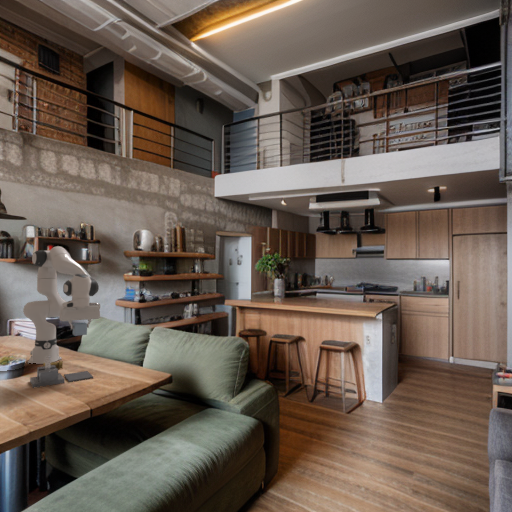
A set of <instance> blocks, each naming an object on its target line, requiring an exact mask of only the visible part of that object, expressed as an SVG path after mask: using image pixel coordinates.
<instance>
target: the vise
mask: <svg viewBox="0 0 512 512" xmlns="http://www.w3.org/2000/svg"><path fill="white" fill-rule="evenodd" d="M50 363H52V362H51V356H45V366H43V365H42V366H37V368H36V369H37V371H36V376H32V377H30V378H29V382H30V385H31V384H32V385H31V388H32V389H35V388H34V387H37V388H41V387H40V386H43V387H47V386H46V385H49V386H53V384H55V385H60V383H61V384H65V380H66V378H65V377H64V375H62V373H60V372H59V368H58V369H57V368H56V366H55V365H50Z"/></svg>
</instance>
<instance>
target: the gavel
mask: <svg viewBox="0 0 512 512" xmlns="http://www.w3.org/2000/svg"><path fill="white" fill-rule="evenodd" d="M63 363H64V362H63V361H62V360H58V362H57V361H55V362H51V363H50V365H55V366H56V368H57V369H58V370H60V368H62V369H63ZM43 366H45V363H43V365H42V367H43Z"/></svg>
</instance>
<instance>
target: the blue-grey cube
mask: <svg viewBox="0 0 512 512" xmlns="http://www.w3.org/2000/svg"><path fill="white" fill-rule="evenodd" d="M87 323H88V322H87ZM87 323H86V322H84V321H83V322H72V325H74V329H72V335H73V336H75V337H76V336H87V335H88V328H87Z"/></svg>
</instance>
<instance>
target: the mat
mask: <svg viewBox="0 0 512 512" xmlns="http://www.w3.org/2000/svg"><path fill="white" fill-rule="evenodd" d="M64 376H65V377H64ZM63 377H64V379H65V380H66V381H67V380H68V381H67V382H68V383H73V381H74V382H79V380H80V381H85V379H86V380H91V379H90V378H92V379H94V376H93V375H92V374H91V372H90V371H88V370H83V371H78V372H71V373H65V374H63Z"/></svg>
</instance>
